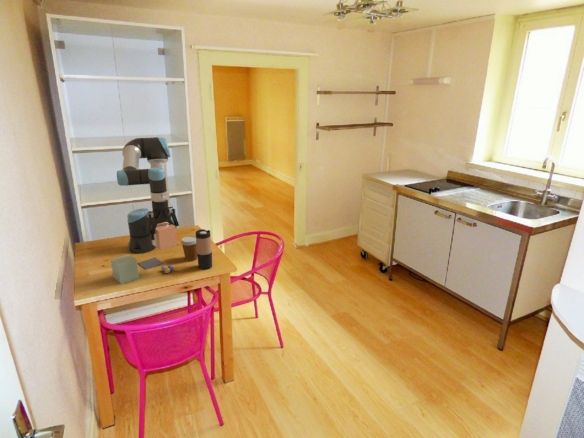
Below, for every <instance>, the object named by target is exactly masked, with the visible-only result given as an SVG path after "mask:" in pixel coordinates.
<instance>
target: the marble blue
mask: <svg viewBox="0 0 584 438" xmlns="http://www.w3.org/2000/svg"><path fill="white" fill-rule="evenodd" d="M167 268H170V272H171V271H173V270H174V268H175V267H174V265H173V264H169V265H168V266H167Z"/></svg>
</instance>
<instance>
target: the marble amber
mask: <svg viewBox="0 0 584 438" xmlns="http://www.w3.org/2000/svg"><path fill="white" fill-rule="evenodd" d="M163 272H164V273H165V274H170V273H171V271H170V268H168V267H167V268H165V269H164V271H163Z"/></svg>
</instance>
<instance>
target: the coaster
mask: <svg viewBox="0 0 584 438" xmlns="http://www.w3.org/2000/svg"><path fill="white" fill-rule="evenodd" d="M137 265H139V266H141V268H143V269H144V270H149V269H152V268H156V267H157V266H160V265H161V266H162V265H164V262H163V261H162V260H160V259H158V258H157V257H152V258H149V259H145V260H143V261H140V262H137Z"/></svg>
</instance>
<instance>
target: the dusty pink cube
mask: <svg viewBox="0 0 584 438" xmlns="http://www.w3.org/2000/svg"><path fill="white" fill-rule="evenodd" d="M154 233H155V234H156V239H157V246H155V247H156V248H157V249H159V250H160V251H161V250H164V249H168V248H170V247H174V246H177V245H178V238H177V237H178V236H177V228H176V226H174V225H171V224H169V223H168V222H164V223H160V224H157V227H156V229H155V232H154ZM152 245H153V240H152Z"/></svg>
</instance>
